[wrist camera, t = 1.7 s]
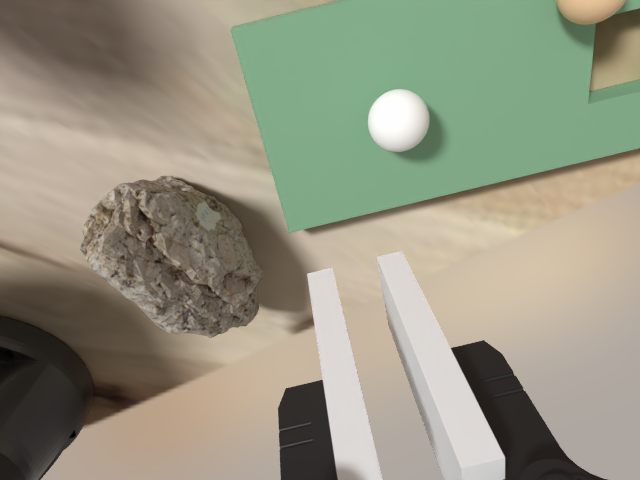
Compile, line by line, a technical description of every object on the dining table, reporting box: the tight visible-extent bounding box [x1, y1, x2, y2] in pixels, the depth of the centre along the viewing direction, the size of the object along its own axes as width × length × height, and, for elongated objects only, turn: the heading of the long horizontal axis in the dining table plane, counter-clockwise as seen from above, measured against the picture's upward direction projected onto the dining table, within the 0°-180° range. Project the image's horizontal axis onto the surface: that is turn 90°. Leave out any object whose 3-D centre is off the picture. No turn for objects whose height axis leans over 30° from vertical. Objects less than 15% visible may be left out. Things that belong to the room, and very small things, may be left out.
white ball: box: [368, 89, 429, 152], centre depth 26 cm, size 4×4×4 cm
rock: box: [80, 176, 263, 338], centre depth 29 cm, size 14×10×8 cm
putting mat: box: [231, 0, 640, 233], centre depth 28 cm, size 28×13×4 cm, turn 102°
